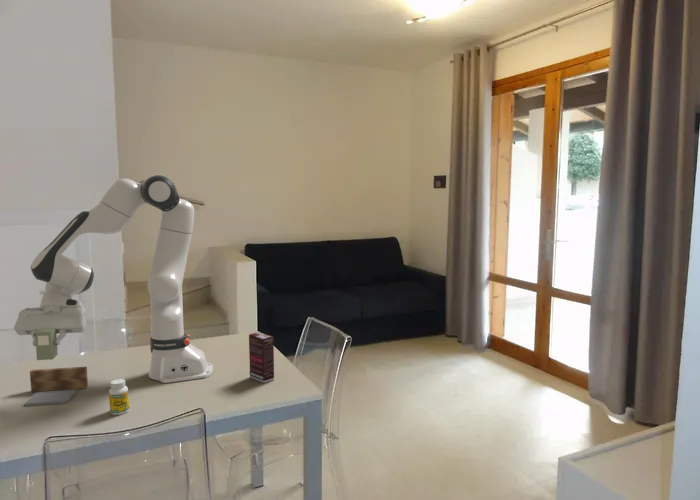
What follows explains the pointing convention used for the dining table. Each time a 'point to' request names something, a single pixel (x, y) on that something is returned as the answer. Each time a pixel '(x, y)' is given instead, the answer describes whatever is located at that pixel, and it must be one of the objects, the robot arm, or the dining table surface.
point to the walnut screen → (58, 379)
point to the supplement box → (261, 357)
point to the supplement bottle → (118, 397)
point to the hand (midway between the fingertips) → (45, 344)
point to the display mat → (50, 397)
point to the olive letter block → (46, 344)
